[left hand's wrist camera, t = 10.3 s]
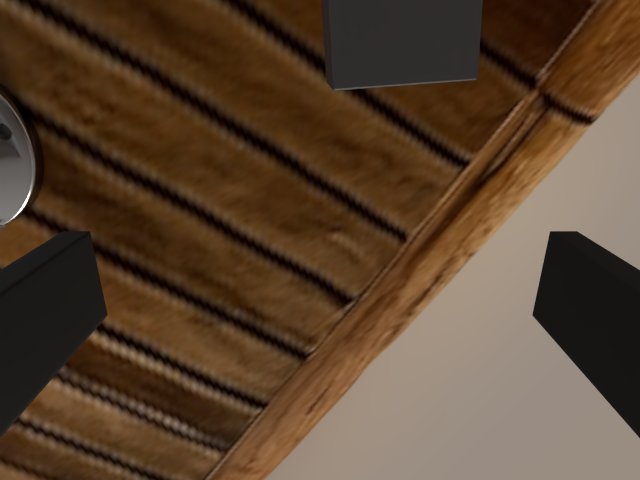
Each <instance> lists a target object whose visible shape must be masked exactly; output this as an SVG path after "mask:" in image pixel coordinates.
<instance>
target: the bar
mask: <svg viewBox="0 0 640 480" xmlns="http://www.w3.org/2000/svg"><path fill="white" fill-rule="evenodd" d="M322 14H323V30H324V47H325V63H326V80H327V83H328V84H329V85H330V87H331V88H332V89H333V90H349V89H362V88H375V87H389V86H402V85H416V84H429V83H443V82H456V81H470V80H476V79H477V78H478V63H479V48H480V32H481V16H482V0H322Z"/></svg>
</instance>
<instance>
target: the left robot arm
mask: <svg viewBox="0 0 640 480" xmlns="http://www.w3.org/2000/svg"><path fill="white" fill-rule="evenodd" d="M42 179H43V156H42V150H41V146H40V142H39V139H38V136H37V134H36V131H35V129H34V127H33V125H32V123H31V121H30V119H29V118H28V116H27V114H26V113H25V111H24V110H23V108H22V107H21V106H20V105H19V103H18V102H17V101H16V100H15V98H14V97H13V96H12V95H11V94H10V93H9V92H8V91H7V90H6V89H5V88H4V87H3V86H1V85H0V229H2V228H4V227H6V226H4V225H5V224H7V223H9V222H11V221H13V220H15V219H17V218H18V217H20V216H21V215H22V214H24V213H25V212H26V211H27V210H28V209H29V208H30V206H31V205H32V204H33V202H34V201H35V199H36V197H37V195H38V193H39V191H40V187H41V184H42ZM106 316H107V310H106V306H105V301H104V296H103V292H102V287H101V282H100V277H99V273H98V268H97V263H96V258H95V254H94V249H93V244H92V240H91V235H90V231H63V232H61V233H60V234H58V235H56V236H55V237H53V238H52V239H50V240H48V241H47V242H45V243H44V244H42V245H40V246H39V247H37V248H36V249H34V250H32V251H31V252H29V253H27V254H26V255H24V256H23V257H21V258H19V259H18V260H16V261H15V262H13V263H11V264H10V265H8V266H6V267H5V268H3V269H2V270H0V438H1V436H2V435H3V434H4V433H5V432H6V431H7V430H8V428H9V427H10V426H11V425H12V424H13V423H14V422H15V420H16V419H17V418H18V417H19V416H20V415H21V414H22V412H23V411H24V410H25V409H26V408H27V407H28V406H29V404H30V403H31V402H32V401H33V400H34V399H35V398H36V396H37V395H38V394H39V393H40V392H41V391H42V390H43V388H44V387H45V386H46V385H47V384H48V383H49V382H50V380H51V379H52V378H53V377H54V376H55V375H56V374H57V372H58V371H59V370H60V369H61V368H62V367H63V366H64V364H65V363H66V362H67V361H68V360H69V359H70V358H71V356H72V355H73V354H74V353H75V352H76V351H77V350H78V348H79V347H80V346H81V345H82V344H83V343H84V342H85V340H86V339H87V338H88V337H89V336H90V335H91V334H92V332H93V331H94V330H95V329H96V328H97V327H98V326H99V324H100V323H101V322H102V321H103V320H104V319H105V317H106ZM533 316H534V317H535V319H536V320H537V321H538V322H539V323H540V324H541V326H542V327H543V328H544V329H545V330H546V331H547V332H548V334H549V335H550V336H551V337H552V338H553V339H554V340H555V342H556V343H557V344H558V345H559V346H560V347H561V348H562V350H563V351H564V352H565V353H566V354H567V355H568V356H569V358H570V359H571V360H572V361H573V362H574V363H575V364H576V366H577V367H578V368H579V369H580V370H581V371H582V372H583V374H584V375H585V376H586V377H587V378H588V379H589V380H590V382H591V383H592V384H593V385H594V386H595V387H596V388H597V390H598V391H599V392H600V393H601V394H602V395H603V396H604V398H605V399H606V400H607V401H608V402H609V403H610V404H611V406H612V407H613V408H614V409H615V410H616V411H617V412H618V414H619V415H620V416H621V417H622V418H623V419H624V420H625V422H626V423H627V424H628V425H629V426H630V427H631V428H632V430H633V431H634V432H635V433H636V434H637V435H638V436H639V438H640V270H638V269H637V268H635V267H633V266H632V265H630V264H629V263H627V262H625V261H624V260H622V259H621V258H619V257H617V256H616V255H614V254H612V253H611V252H609V251H608V250H606V249H604V248H603V247H601V246H600V245H598V244H596V243H595V242H593V241H592V240H590V239H588V238H587V237H585V236H584V235H582V234H580V233H579V232H577V231H576V232H575V231H568V232H566V231H562V232H561V231H557V232H556V231H555V232H550V235H549V240H548V244H547V249H546V254H545V258H544V263H543V268H542V273H541V277H540V282H539V287H538V291H537V296H536V301H535V306H534V311H533Z"/></svg>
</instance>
